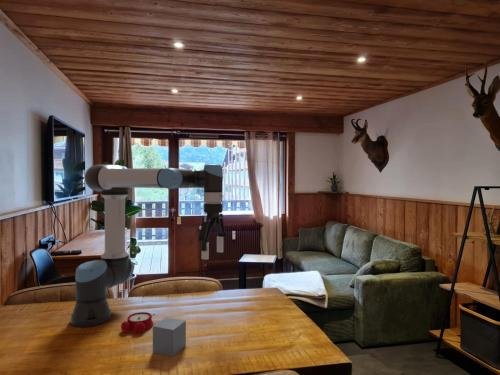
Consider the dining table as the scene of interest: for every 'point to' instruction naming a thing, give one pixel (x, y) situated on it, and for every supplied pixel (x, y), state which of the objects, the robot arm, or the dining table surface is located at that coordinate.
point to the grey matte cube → (169, 336)
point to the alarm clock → (137, 323)
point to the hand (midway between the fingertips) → (212, 255)
